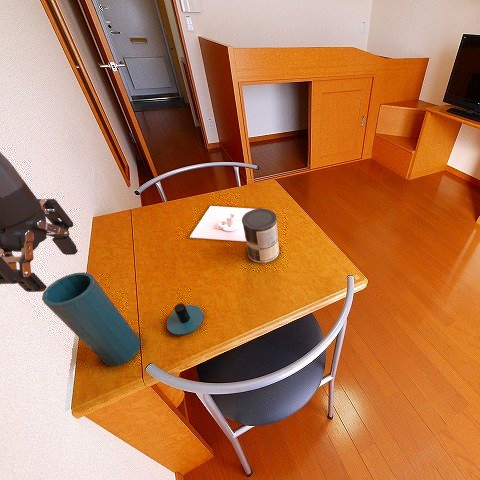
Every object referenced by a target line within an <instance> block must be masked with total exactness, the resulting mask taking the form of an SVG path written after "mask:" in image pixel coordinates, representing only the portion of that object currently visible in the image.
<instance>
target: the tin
mask: <svg viewBox="0 0 480 480" xmlns="http://www.w3.org/2000/svg"><path fill="white" fill-rule="evenodd" d="M41 300H42V302H43V303H44V305H45V306H47V308H48V309H50V311H52V312H53V314H54V315H55V316H56V317H58V318H59V319H60V320H61V321H62V322H63V323H64V325H66V327H67V328H68V329H69V330H70V331H72V333H74V334H75V336H76V337H77V338H79V340H81V341H82V343H84V344H85V346H86V347H88V349H89V350H90V351H92V352H93V353H94V354H95V355H96V356H97V357H98V358H99V359H100V360H101V361H102V362H103V363H104V364H105V365H107V366H110V367H118V366H121V365H123V364H125V363H127V362H129V361H131V360H132V359H133V358H134V357H135V356H136V355H137V354H138V352H139V350H140V347H141V340H140V338H139V336H138V334H137V333H136V332H135V331H134V330H133V328H132V327H131V326H130V324H129V323H128V322H127V320H126V318H125V317H124V316H123V315H122V313H121V312H120V311H119V309H118V308H117V307H116V305H115V304H114V302H112V300H111V299H110V297H109V296H108V294H107V293H106V292H105V291H104V289H103V288H102V286H101V285H100V284H99V282H98V281H97V280H96V278H95V277H94V275H92V274H91V273H88V272H75V273H70V274H67V275H65V276H62V277H60V278H58V279H56V280H55V281H53V282H52V283H51V284H49V285H48V286H47V288H46V289H45V290H44V291H43V292H42V296H41Z"/></svg>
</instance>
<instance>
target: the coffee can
mask: <svg viewBox="0 0 480 480" xmlns="http://www.w3.org/2000/svg"><path fill="white" fill-rule="evenodd" d="M253 209H254V210H251V211H249V212H247V213H246V214H244V216H243V217H242V224H243V228H244V233H245V239H246V241H245V243H246V244H245V245H246V249H247V256H248V258H249V259H250V261H253V262H255V263H259V264H266V263H270V262H272V261H274V260H276V258H277V257H278V256H279V254H280V247H279V236H278V222H277V220H278V218H277V214H276V213H275V212H274V211H273V210H271V209H267V208H253Z"/></svg>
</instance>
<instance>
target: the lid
mask: <svg viewBox="0 0 480 480" xmlns="http://www.w3.org/2000/svg"><path fill="white" fill-rule="evenodd" d="M203 321H204V312H203V309H202V308H201V307H200V306H197V305H193V304H187V305H185V304H184V303H182V302H181V303H177V304H176V305H174V307H173V312H172V313H171V314H170V315H169V316H168V318H167V320H166V329H167V330H168V332H169V333H170V334H171V335H174V336H179V337H180V336H186V335H190V334H192V333H193V332H195V331H196V330H197V329H198V328H199V327H201V325H202V323H203Z"/></svg>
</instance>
